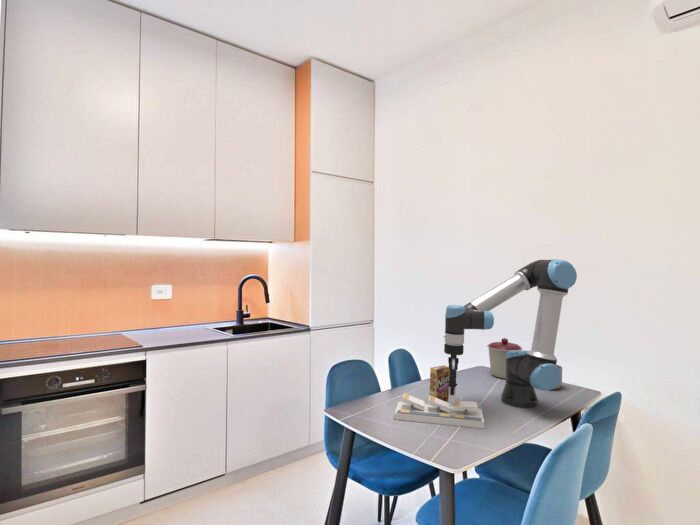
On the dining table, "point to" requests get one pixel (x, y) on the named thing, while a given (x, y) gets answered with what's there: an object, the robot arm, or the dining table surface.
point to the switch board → (439, 416)
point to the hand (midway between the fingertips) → (451, 402)
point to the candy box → (439, 382)
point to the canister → (500, 356)
